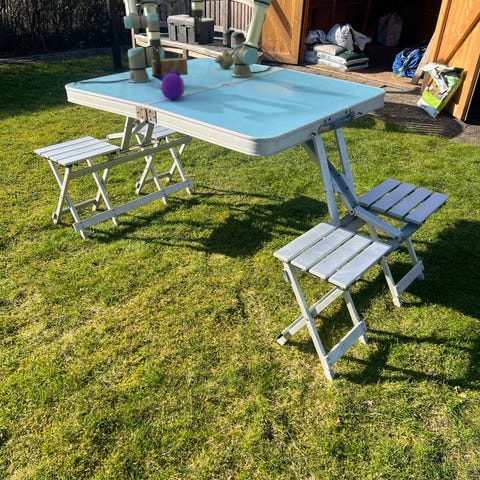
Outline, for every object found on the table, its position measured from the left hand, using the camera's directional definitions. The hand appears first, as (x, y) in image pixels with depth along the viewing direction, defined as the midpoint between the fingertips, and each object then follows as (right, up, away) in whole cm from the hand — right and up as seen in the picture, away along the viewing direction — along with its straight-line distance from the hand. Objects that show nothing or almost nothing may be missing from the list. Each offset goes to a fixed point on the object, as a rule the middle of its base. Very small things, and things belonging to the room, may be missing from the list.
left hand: (158, 74), depth 309 cm
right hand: (+27, +23, +5) cm, 36 cm away
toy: (+11, -22, -19) cm, 31 cm away
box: (+8, +1, +2) cm, 8 cm away
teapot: (+45, +31, +70) cm, 89 cm away
